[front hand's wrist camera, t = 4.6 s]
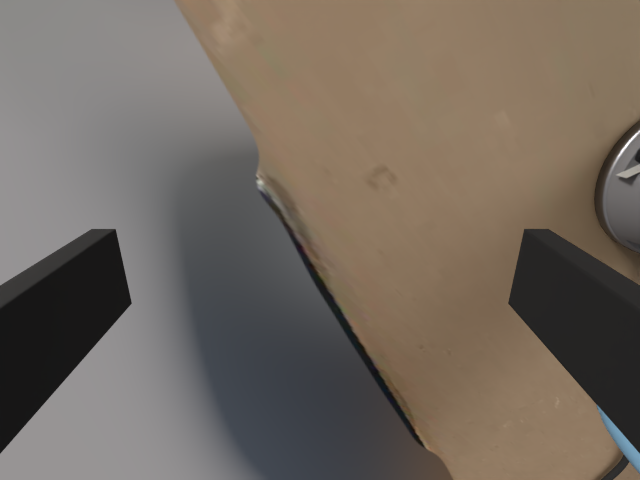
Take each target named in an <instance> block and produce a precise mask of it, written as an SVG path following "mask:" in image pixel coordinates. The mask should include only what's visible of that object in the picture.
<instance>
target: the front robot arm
mask: <svg viewBox="0 0 640 480" xmlns="http://www.w3.org/2000/svg"><path fill="white" fill-rule="evenodd" d="M595 209H596V214H597V218H598V220H599V222H600V225H601V226H602V228H603V229H604V231H605V232H606V233H607V234H608V235H609V236H610V237H611V238H612V239H613V240H615V241H616V242H618V243H619V244H621V245H623V246H625V247H627V248H629V249H631V250H633V251H635V252H637V253H640V121H639V122H638V123H636V124H635V125H634V126H633V127H632V128H631V129H630V130H628V131H627V132H626V133H625V134H624V135H623V137H622V138H621V139H620V140H619V141H618V142H617V144H616V145H615V146H614V147H613V149H612V150H611V152H610V153H609V155H608V157H607V158H606V160H605V162H604V164H603V166H602V168H601V171H600V174H599V176H598V180H597V183H596V189H595ZM508 304H509V305H510V306H511V307H512V308H513V309H514V310H515V312H516V313H517V314H518V315H519V316H520V317H521V318H522V320H523V321H524V322H525V323H526V324H527V325H528V326H529V328H530V329H531V330H532V331H533V332H534V333H535V334H536V336H537V337H538V338H539V339H540V340H541V341H542V342H543V344H544V345H545V346H546V347H547V348H548V349H549V350H550V352H551V353H552V354H553V355H554V356H555V357H556V358H557V360H558V361H559V362H560V363H561V364H562V365H563V366H564V368H565V369H566V370H567V371H568V372H569V373H570V374H571V376H572V377H573V378H574V379H575V380H576V381H577V382H578V384H579V385H580V386H581V387H582V388H583V389H584V390H585V392H586V393H587V394H588V395H589V396H590V397H591V398H592V400H593V401H594V402H595V403H596V404H597V408H598V411H599V413H600V415H601V418H602V421H603V423H604V425H605V427H606V429H607V430H608V432H609V434H610V435H611V437H612V438H613V440H614V441H615V443H616V444H617V446H618V447H619V448H620V450H621V451H622V453H623V454H624V455H623V457H622V459H621V460H620V462H619V463H618V464H617V465H616V466H615V467H614V468H613V469H612V470H611V471H610V472H609V473H608V474H607V475H606V476H604V477H603V478H602V479H601V480H613V479H614V478H615V477H616V476H618V475H619V474H620V473H621V472H622V471H623V470H624V468H625V467H626V466H627V465H628V463H629V462H630V463H631V464H632V465H633V466H634V468H635V469H636V470H637V471H638V472H639V474H640V285H638V284H636V283H635V282H633V281H631V280H630V279H628V278H627V277H625V276H623V275H622V274H620V273H618V272H617V271H615V270H614V269H612V268H610V267H609V266H607V265H606V264H604V263H602V262H601V261H599V260H597V259H596V258H594V257H593V256H591V255H589V254H588V253H586V252H584V251H583V250H581V249H580V248H578V247H576V246H575V245H573V244H572V243H570V242H568V241H567V240H565V239H563V238H562V237H560V236H559V235H557V234H555V233H554V232H552V231H550V230H549V229H524V233H523V238H522V243H521V247H520V252H519V257H518V261H517V266H516V270H515V275H514V280H513V284H512V289H511V293H510V298H509V303H508ZM130 305H131V298H130V293H129V289H128V284H127V280H126V275H125V270H124V266H123V261H122V257H121V252H120V247H119V243H118V238H117V233H116V230H115V229H91V230H90V231H88V232H86V233H85V234H83V235H81V236H80V237H78V238H77V239H75V240H73V241H72V242H70V243H68V244H67V245H65V246H64V247H62V248H60V249H59V250H57V251H56V252H54V253H52V254H51V255H49V256H47V257H46V258H44V259H43V260H41V261H39V262H38V263H36V264H34V265H33V266H31V267H30V268H28V269H26V270H25V271H23V272H21V273H20V274H18V275H17V276H15V277H13V278H12V279H10V280H9V281H7V282H5V283H4V284H2V285H1V286H0V453H1V452H2V451H3V450H4V449H5V448H6V446H7V445H8V444H9V443H10V442H11V441H12V440H13V438H14V437H15V436H16V435H17V434H18V433H19V431H20V430H21V429H22V428H23V427H24V426H25V425H26V423H27V422H28V421H29V420H30V419H31V418H32V417H33V416H34V414H35V413H36V412H37V411H38V410H39V409H40V408H41V406H42V405H43V404H44V403H45V402H46V401H47V400H48V398H49V397H50V396H51V395H52V394H53V393H54V391H55V390H56V389H57V388H58V387H59V386H60V385H61V384H62V382H63V381H64V380H65V379H66V378H67V377H68V376H69V374H70V373H71V372H72V371H73V370H74V369H75V368H76V366H77V365H78V364H79V363H80V362H81V361H82V359H83V358H84V357H85V356H86V355H87V354H88V353H89V351H90V350H91V349H92V348H93V347H94V346H95V345H96V343H97V342H98V341H99V340H100V339H101V338H102V337H103V335H104V334H105V333H106V332H107V331H108V330H109V329H110V328H111V326H112V325H113V324H114V323H115V322H116V321H117V320H118V318H119V317H120V316H121V315H122V314H123V313H124V312H125V310H126V309H127V308H128V307H129V306H130Z"/></svg>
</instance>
